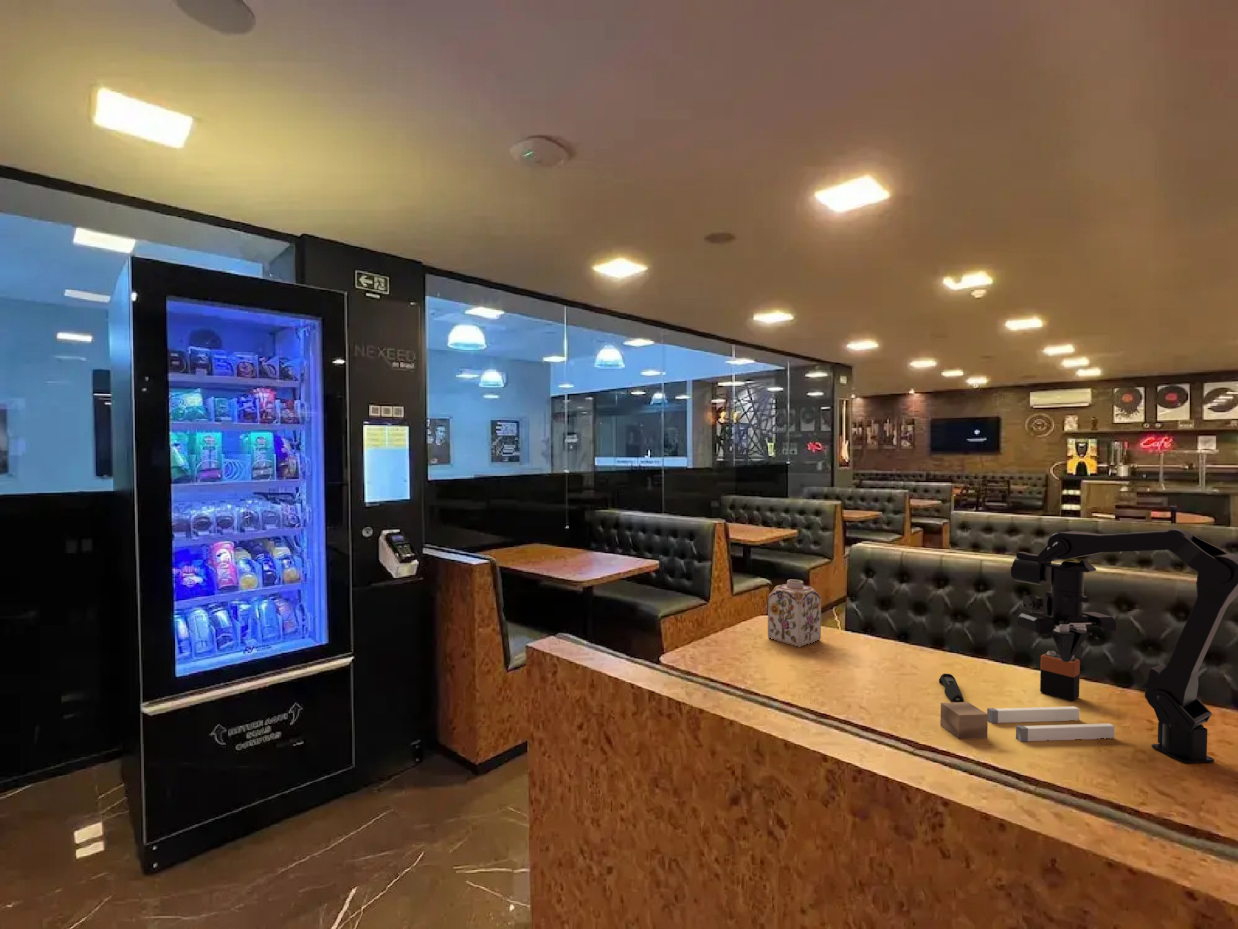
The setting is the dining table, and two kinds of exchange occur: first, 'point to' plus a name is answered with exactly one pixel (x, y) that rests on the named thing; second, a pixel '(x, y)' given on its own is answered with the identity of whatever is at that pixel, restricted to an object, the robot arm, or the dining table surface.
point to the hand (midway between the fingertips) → (1065, 661)
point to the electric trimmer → (951, 688)
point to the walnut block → (964, 720)
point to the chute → (1049, 730)
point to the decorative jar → (794, 614)
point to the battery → (1059, 676)
